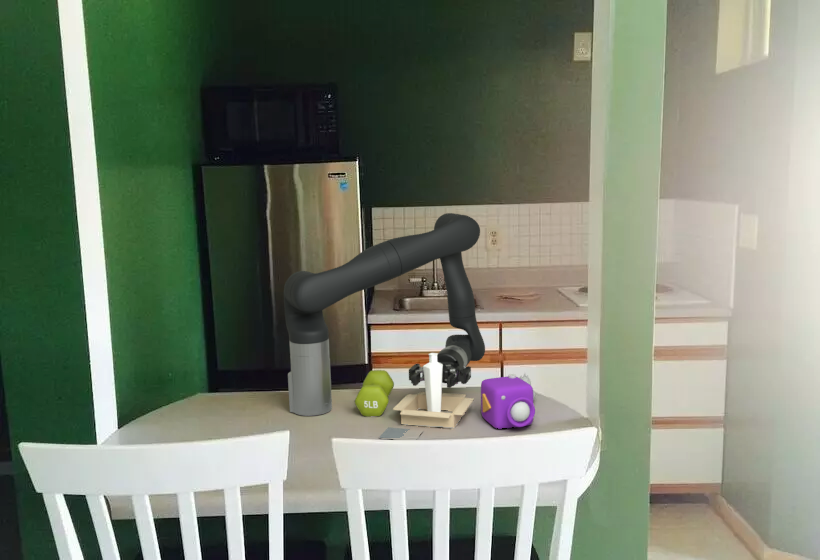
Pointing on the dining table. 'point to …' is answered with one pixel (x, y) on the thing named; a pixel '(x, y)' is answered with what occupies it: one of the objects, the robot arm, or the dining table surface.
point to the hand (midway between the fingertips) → (431, 382)
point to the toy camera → (507, 402)
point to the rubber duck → (526, 379)
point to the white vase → (433, 383)
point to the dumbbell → (374, 393)
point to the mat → (393, 433)
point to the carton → (448, 402)
